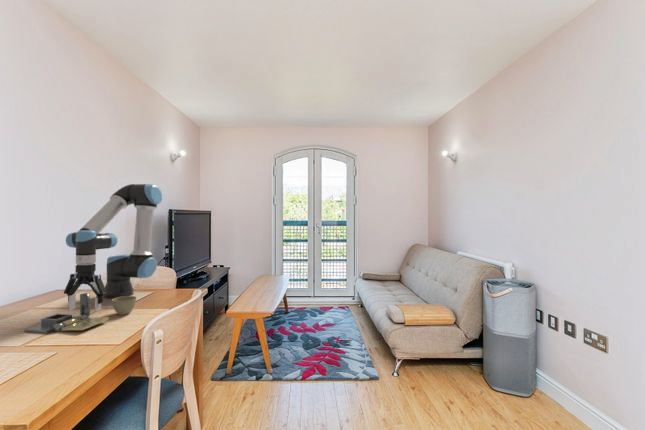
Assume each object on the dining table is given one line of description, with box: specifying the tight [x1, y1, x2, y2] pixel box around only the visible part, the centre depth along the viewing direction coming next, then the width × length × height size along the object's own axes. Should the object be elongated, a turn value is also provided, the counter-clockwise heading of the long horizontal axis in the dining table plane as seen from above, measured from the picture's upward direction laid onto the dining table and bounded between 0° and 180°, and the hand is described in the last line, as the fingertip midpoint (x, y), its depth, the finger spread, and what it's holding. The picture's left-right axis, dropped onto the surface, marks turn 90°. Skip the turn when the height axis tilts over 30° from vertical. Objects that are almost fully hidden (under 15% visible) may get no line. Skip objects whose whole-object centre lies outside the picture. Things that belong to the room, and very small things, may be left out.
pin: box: [79, 292, 91, 316], centre depth 149 cm, size 4×4×10 cm
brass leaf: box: [60, 315, 110, 332], centre depth 135 cm, size 13×13×3 cm
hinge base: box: [24, 313, 90, 334], centre depth 136 cm, size 18×13×4 cm
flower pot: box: [111, 295, 137, 316], centre depth 153 cm, size 10×10×7 cm
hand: (85, 309), depth 149 cm, fingers open, 13 cm apart
